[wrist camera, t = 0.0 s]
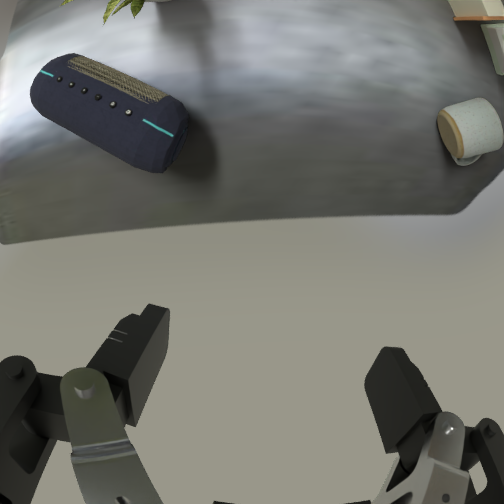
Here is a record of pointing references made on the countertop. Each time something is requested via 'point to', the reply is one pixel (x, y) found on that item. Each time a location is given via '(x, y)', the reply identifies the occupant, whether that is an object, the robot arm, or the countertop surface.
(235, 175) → the countertop surface
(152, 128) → the portable speaker
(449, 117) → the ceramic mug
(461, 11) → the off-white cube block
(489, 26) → the rail
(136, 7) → the house plant
